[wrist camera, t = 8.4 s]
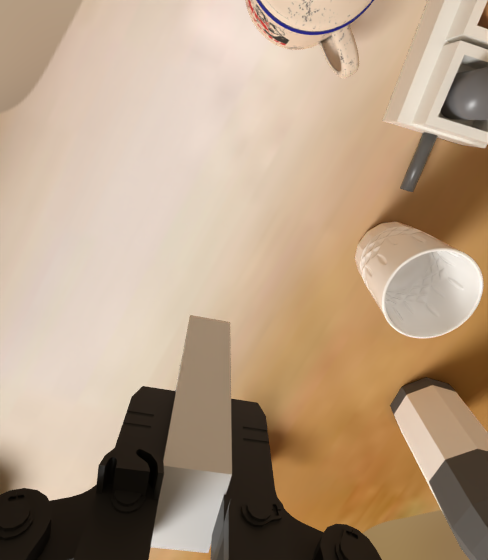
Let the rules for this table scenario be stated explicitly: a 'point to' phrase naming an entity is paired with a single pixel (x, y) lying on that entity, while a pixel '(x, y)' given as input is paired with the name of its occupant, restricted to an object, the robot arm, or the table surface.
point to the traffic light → (439, 78)
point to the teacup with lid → (312, 27)
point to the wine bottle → (449, 457)
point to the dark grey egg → (468, 96)
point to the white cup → (418, 279)
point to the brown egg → (484, 18)
